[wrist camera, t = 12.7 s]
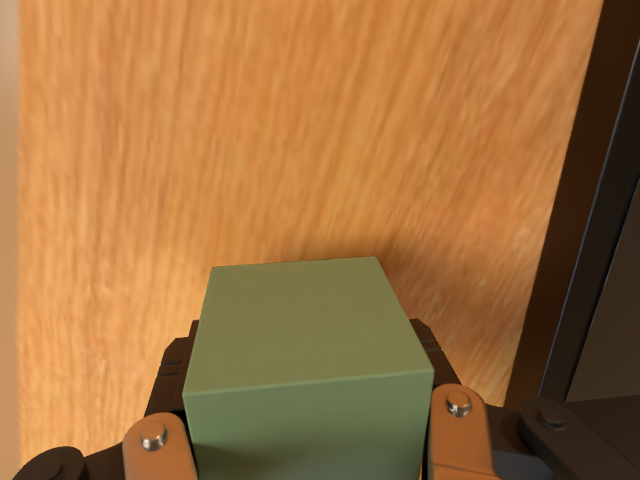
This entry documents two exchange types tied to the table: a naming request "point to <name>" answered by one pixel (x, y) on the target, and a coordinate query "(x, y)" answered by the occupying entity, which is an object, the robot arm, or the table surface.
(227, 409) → the cube
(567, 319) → the laptop
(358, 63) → the table surface
